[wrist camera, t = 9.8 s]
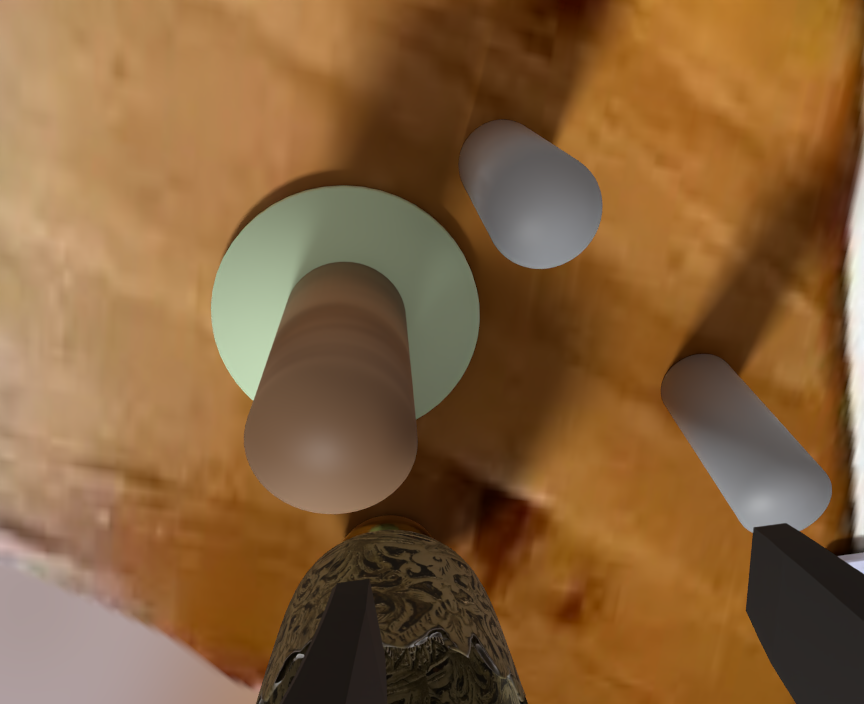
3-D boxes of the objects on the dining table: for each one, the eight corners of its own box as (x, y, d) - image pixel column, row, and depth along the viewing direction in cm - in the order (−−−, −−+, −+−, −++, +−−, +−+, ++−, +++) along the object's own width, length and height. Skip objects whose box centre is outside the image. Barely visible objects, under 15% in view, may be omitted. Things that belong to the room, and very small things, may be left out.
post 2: (736, 407, 24) (832, 524, 18) (665, 424, 24) (740, 545, 18) (730, 345, 23) (830, 451, 17) (656, 364, 23) (732, 473, 17)
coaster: (487, 413, 23) (489, 419, 23) (246, 445, 23) (244, 451, 23) (465, 168, 20) (467, 170, 19) (183, 204, 20) (179, 207, 19)
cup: (370, 655, 27) (366, 880, 20) (239, 537, 24) (180, 748, 17) (529, 558, 26) (588, 764, 19) (409, 422, 23) (424, 599, 16)
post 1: (544, 200, 20) (603, 260, 15) (463, 211, 20) (491, 276, 15) (539, 113, 19) (601, 144, 14) (454, 125, 19) (480, 161, 14)
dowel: (413, 365, 22) (427, 502, 15) (297, 380, 22) (264, 524, 15) (397, 254, 20) (406, 355, 14) (273, 269, 20) (225, 378, 14)
